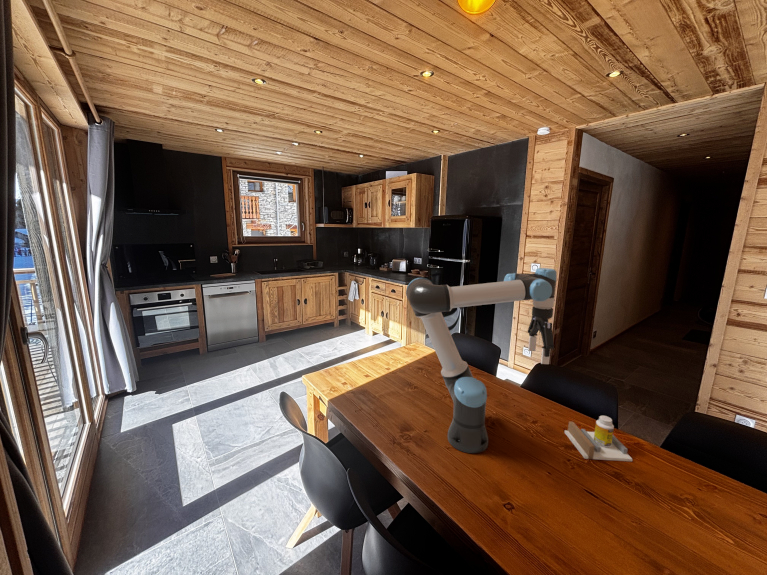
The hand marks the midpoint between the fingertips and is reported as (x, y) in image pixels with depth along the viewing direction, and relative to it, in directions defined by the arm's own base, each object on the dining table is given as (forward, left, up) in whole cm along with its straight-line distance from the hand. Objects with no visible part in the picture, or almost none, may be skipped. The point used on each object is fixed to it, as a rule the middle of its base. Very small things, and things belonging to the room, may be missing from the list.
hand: (538, 357), depth 131 cm
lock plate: (+18, -15, -29) cm, 37 cm away
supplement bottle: (+20, -14, -28) cm, 37 cm away
